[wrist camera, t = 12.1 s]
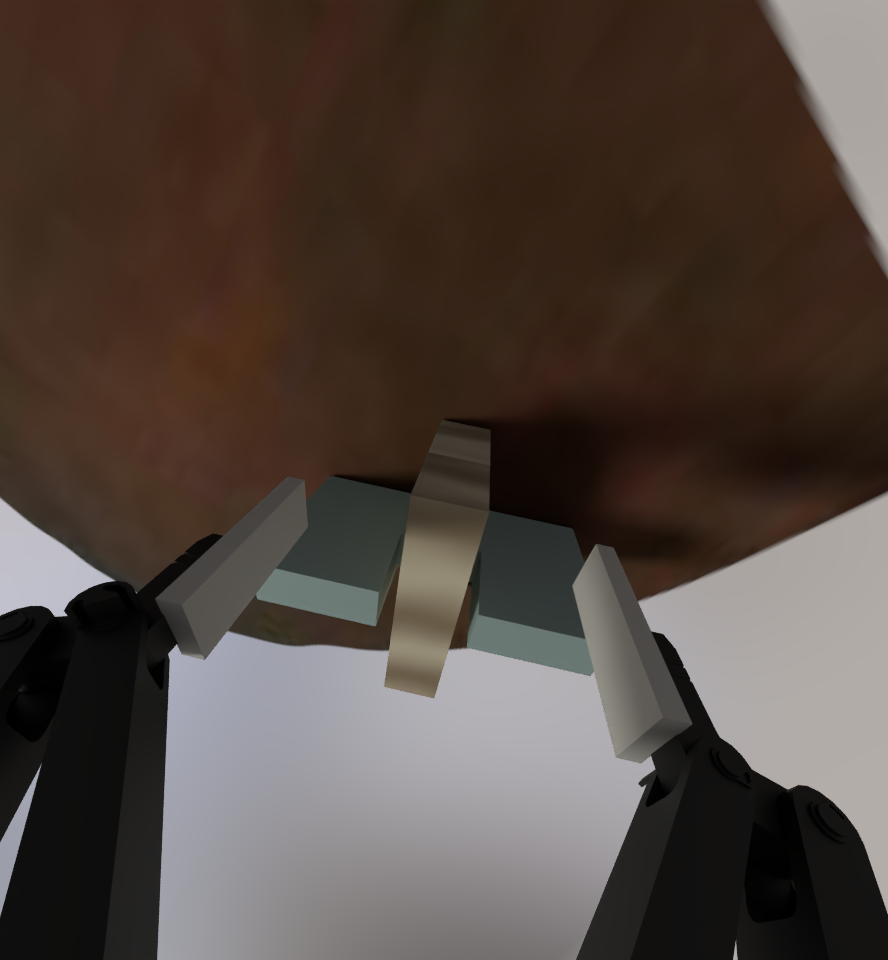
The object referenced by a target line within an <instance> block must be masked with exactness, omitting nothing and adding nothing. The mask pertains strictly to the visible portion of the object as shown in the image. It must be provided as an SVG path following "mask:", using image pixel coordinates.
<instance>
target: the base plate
mask: <svg viewBox="0 0 888 960" xmlns="http://www.w3.org/2000/svg"><path fill="white" fill-rule="evenodd" d="M410 495H411V493H407V492H402V491H398V490H393V489H389V488H384V487H379V486H375V485H370V484H366V483H361V482H356V481H352V480H347V479H343V478H338V477H333V476H329V477H328V478H327V480H326V481H325V482H324V483H323V484H322V485H321V486H320V487H319V488H318V489H317V491H316V492H315V493H314V494H313V495H312V496H311V497H310V498H309V499H308V500H307V501H306V507H307V520H308V528H307V529H306V530H305V531H304V533H303V534H302V535H301V537H300V538H299V539H298V540H297V542H296V543H295V544H294V546H293V547H292V548H291V549H290V551H289V552H288V553H287V555H286V556H285V557H284V558H283V560H282V561H281V562H280V564H279V565H278V566H277V568H276V569H275V570H274V571H273V573H272V574H271V575H270V577H269V578H268V579H267V580H266V582H265V583H264V584H263V586H262V587H261V588H260V589H259V591H258V592H257V593H256V595H257V599H259V600H264V601H268V602H272V603H277V604H281V605H285V606H290V607H294V608H298V609H303V610H307V611H311V612H316V613H320V614H324V615H328V616H333V617H337V618H341V619H346V620H350V621H354V622H359V623H363V624H367V625H372V626H376V624H377V621H378V618H379V615H380V612H381V610H382V607H383V604H384V601H385V598H386V596H387V593H388V590H389V587H390V585H391V582H392V579H393V576H394V573H395V571H396V568H397V565H398V566H401V561H402V554H403V546H404V539H405V532H406V524H407V517H408V510H409V502H410ZM584 564H585V563H584V560H583V557H582V554H581V551H580V548H579V545H578V542H577V540H576V537H575V534H574V531H573V529H572V528H568V527H563V526H558V525H554V524H549V523H545V522H540V521H536V520H531V519H526V518H522V517H517V516H513V515H508V514H503V513H499V512H494V511H490V510H489V514H488V518H487V521H486V524H485V528H484V531H483V534H482V538H481V541H480V545H479V548H478V551H477V555H476V558H475V561H474V565H473V568H472V572H471V575H470V578H469V582H472V589H471V602H470V615H469V629H468V642H467V648H471V649H475V650H480V651H485V652H489V653H493V654H497V655H502V656H506V657H511V658H514V659H519V660H523V661H528V662H532V663H536V664H540V665H545V666H549V667H554V668H558V669H562V670H566V671H571V672H575V673H579V674H584V675H588V676H591V674H592V673H593V672H594V669H593V665H592V661H591V657H590V653H589V650H588V646H587V642H586V638H585V634H584V630H583V626H582V622H581V618H580V614H579V610H578V606H577V602H576V598H575V594H574V591H573V587H572V585H573V584H574V582H575V580H576V578H577V576H578V575H579V573H580V571H581V569H582V568H583V566H584Z"/></svg>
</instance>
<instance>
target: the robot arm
mask: <svg viewBox="0 0 888 960" xmlns="http://www.w3.org/2000/svg"><path fill="white" fill-rule="evenodd" d="M307 528H308V520H307V507H306V494H305V482H304V480H302V479H297V478H292V477H287V478H286V479H285V480H284V481H282V482H281V483H280V484H279V485H278V486H277V487H276V488H275V489H274V490H273V491H272V492H271V493H269V494H268V495H267V496H266V497H265V498H264V499H263V500H262V501H261V502H260V503H259V504H257V505H256V506H255V507H254V508H253V509H252V510H251V511H250V512H249V513H248V514H247V515H246V516H244V517H243V518H242V519H241V520H240V521H239V522H238V523H237V524H236V525H235V526H234V527H233V528H231V529H230V530H229V531H228V532H227V533H226V534H225V535H224V536H222V535H217V534H211V535H209V536H207V537H205V538H203V539H201V540H199V541H197V542H196V543H195V544H194V545H192V546H191V547H190V548H189V549H188V550H187V551H185V552H184V555H181V556H180V557H178V558H177V559H176V560H175V561H174V563H173V564H170V565H169V566H168V567H167V568H166V569H164V570H163V571H162V572H161V573H160V574H159V575H157V576H156V577H155V578H154V579H153V580H152V581H150V582H149V583H148V584H147V585H146V586H145V587H143V588H142V589H141V590H140V591H139V592H138V593H137V594H136V592H135V590H134V588H133V587H132V586H131V585H130V584H128V583H127V582H121V581H113V582H106V583H102V584H99V585H96V586H93V587H91V588H89V589H87V590H85V591H83V592H82V593H80V594H78V595H77V596H76V597H75V598H74V599H72V600H71V601H70V602H69V603H68V605H67V607H66V608H65V610H64V611H65V613H66V614H67V616H63V617H55V616H54V615H53V614H52V612H51V611H50V610H49V609H48V608H45V607H43V606H29V607H24V608H20V609H16V610H13V611H11V612H8V613H6V614H3V615H1V616H0V841H1V840H2V838H3V836H4V834H5V832H6V830H7V828H8V826H9V824H10V822H11V821H12V819H13V817H14V815H15V813H16V811H17V809H18V807H19V805H20V803H21V802H22V800H23V797H24V796H25V794H26V792H27V790H28V788H29V786H30V784H31V783H32V781H33V779H34V777H35V775H36V773H37V771H38V769H39V767H40V765H41V764H42V765H41V769H40V772H39V776H38V780H37V783H36V787H35V791H34V795H33V798H32V802H31V805H30V809H29V813H28V817H27V820H26V824H25V828H24V832H23V835H22V839H21V842H20V846H19V850H18V854H17V857H16V861H15V864H14V868H13V872H12V876H11V879H10V883H9V887H8V890H7V894H6V898H5V902H4V905H3V909H2V912H1V916H0V960H157V948H158V924H159V923H158V922H159V900H160V877H161V875H160V874H161V852H162V830H163V804H164V781H165V756H166V734H167V710H168V687H169V685H168V684H169V662H170V660H169V656H168V653H169V652H170V651H171V650H172V649H173V648H174V646H175V645H176V644H177V645H178V647H179V649H180V651H181V653H182V654H183V655H187V656H191V657H195V658H200V659H204V660H205V659H206V658H207V656H208V655H209V654H210V653H211V651H212V650H213V649H214V647H215V646H216V645H217V643H218V642H219V641H220V640H221V638H222V637H223V636H224V635H225V633H226V632H227V631H228V629H229V628H230V627H231V625H232V624H233V623H234V622H235V620H236V619H237V618H238V616H239V615H240V614H241V613H242V611H243V610H244V609H245V607H246V606H247V605H248V604H249V602H250V601H251V600H252V598H253V597H254V596H255V595H256V593H257V592H258V591H259V589H260V588H261V587H262V586H263V584H264V583H265V582H266V580H267V579H268V578H269V577H270V575H271V574H272V573H273V571H274V570H275V569H276V568H277V566H278V565H279V564H280V562H281V561H282V560H283V558H284V557H285V556H286V555H287V553H288V552H289V551H290V549H291V548H292V547H293V546H294V544H295V543H296V542H297V540H298V539H299V538H300V537H301V535H302V534H303V533H304V531H305V530H306V529H307ZM572 587H573V591H574V594H575V598H576V602H577V606H578V610H579V614H580V618H581V622H582V626H583V630H584V634H585V638H586V642H587V646H588V650H589V653H590V657H591V661H592V665H593V669H594V673H595V677H596V681H597V685H598V689H599V693H600V697H601V700H602V705H603V709H604V712H605V716H606V720H607V724H608V728H609V732H610V736H611V740H612V744H613V748H614V752H615V756H616V757H617V758H620V759H625V760H629V761H633V762H637V763H642V762H643V761H645V760H646V759H647V758H648V757H650V756H651V757H652V760H653V762H654V766H655V770H654V771H653V772H651V773H650V774H648V775H647V776H645V777H644V778H643V779H642V780H641V781H640V782H639V785H640V786H641V787H643V786H644V785H646V784H647V785H646V788H645V790H644V793H643V795H642V798H641V800H640V803H639V805H638V808H637V810H636V812H635V815H634V817H633V820H632V822H631V825H630V827H629V830H628V832H627V835H626V837H625V840H624V842H623V845H622V847H621V850H620V852H619V855H618V857H617V860H616V862H615V865H614V867H613V870H612V872H611V875H610V877H609V879H608V882H607V884H606V887H605V889H604V892H603V894H602V897H601V899H600V902H599V904H598V907H597V909H596V912H595V914H594V917H593V919H592V922H591V924H590V927H589V929H588V931H587V934H586V936H585V939H584V941H583V944H582V946H581V949H580V951H579V954H578V956H577V959H576V960H733V956H734V948H735V942H736V944H737V957H738V960H888V914H887V911H886V908H885V905H884V902H883V899H882V896H881V893H880V890H879V887H878V884H877V881H876V878H875V875H874V872H873V870H872V867H871V864H870V861H869V858H868V855H867V852H866V849H865V846H864V844H863V842H862V840H861V838H860V836H859V834H858V832H857V830H856V829H855V827H854V826H853V825H852V823H851V822H850V821H849V819H848V818H847V816H846V815H845V814H844V813H843V812H842V811H841V810H840V809H839V808H838V807H837V806H836V805H835V804H834V803H833V802H832V801H831V800H829V799H828V798H826V797H825V796H824V795H823V794H821V793H820V792H819V791H816V790H815V789H812V788H810V787H808V786H802V785H798V786H796V787H793V788H791V789H789V790H787V789H785V788H783V787H782V786H780V785H778V784H777V783H775V782H773V781H771V780H769V779H768V778H766V777H764V776H762V775H760V774H759V773H757V772H755V771H754V770H752V769H751V768H750V766H749V765H748V763H747V762H746V761H745V759H744V758H743V757H742V755H741V754H740V753H739V752H738V751H737V750H736V749H735V748H734V747H733V746H732V745H730V744H729V743H727V742H726V741H724V740H723V739H721V738H720V737H719V735H718V734H717V732H716V730H715V728H714V726H713V724H712V722H711V720H710V718H709V716H708V714H707V712H706V710H705V708H704V706H703V704H702V701H701V700H700V698H699V695H698V693H697V691H696V689H695V687H694V685H693V683H692V682H690V677H689V675H688V673H687V671H686V669H685V668H683V666H684V665H683V663H682V661H681V659H680V657H679V655H678V653H677V651H676V649H675V648H674V647H673V645H672V644H671V643H670V642H669V641H668V640H667V638H666V637H665V636H664V635H663V634H660V633H656V632H651V630H650V628H649V626H648V624H647V621H646V619H645V617H644V615H643V612H642V610H641V608H640V606H639V603H638V601H637V599H636V597H635V595H634V592H633V590H632V588H631V586H630V583H629V581H628V579H627V577H626V574H625V572H624V570H623V568H622V565H621V563H620V561H619V559H618V557H617V554H616V552H615V550H614V548H613V547H608V546H604V545H599V544H596V545H595V546H594V548H593V550H592V552H591V553H590V555H589V557H588V559H587V561H586V562H585V564H584V566H583V568H582V569H581V571H580V573H579V575H578V576H577V578H576V580H575V582H574V584H573V585H572Z"/></svg>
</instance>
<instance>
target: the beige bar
mask: <svg viewBox="0 0 888 960" xmlns="http://www.w3.org/2000/svg"><path fill="white" fill-rule="evenodd" d="M490 440H491V430H488V429H484V428H479V427H474V426H469V425H464V424H460V423H455V422H450V421H445V420H442V421H441V423H440V425H439V428H438V430H437V433H436V435H435V437H434V440H433V442H432V445H431V447H430V449H429V452H428V454H427V457H426V459H425V461H424V464H423V466H422V469H421V471H420V473H419V476H418V478H417V481H416V483H415V485H414V488H413V490H412V493H411V495H410V502H409V510H408V517H407V524H406V532H405V539H404V546H403V554H402V561H401V568H400V576H399V583H398V590H397V597H396V605H395V612H394V619H393V627H392V634H391V641H390V649H389V657H388V663H387V671H386V678H385V685H384V686H385V687H388V688H392V689H396V690H400V691H405V692H409V693H413V694H417V695H422V696H426V697H431V698H434V697H435V693H436V690H437V687H438V683H439V680H440V676H441V673H442V670H443V666H444V663H445V659H446V656H447V653H448V649H449V646H450V643H451V639H452V636H453V633H454V629H455V626H456V622H457V619H458V616H459V612H460V609H461V605H462V602H463V599H464V595H465V592H466V589H467V585H468V582H469V578H470V575H471V572H472V568H473V565H474V561H475V558H476V555H477V551H478V548H479V545H480V541H481V538H482V534H483V531H484V528H485V524H486V521H487V518H488V514H489V493H490Z"/></svg>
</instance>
